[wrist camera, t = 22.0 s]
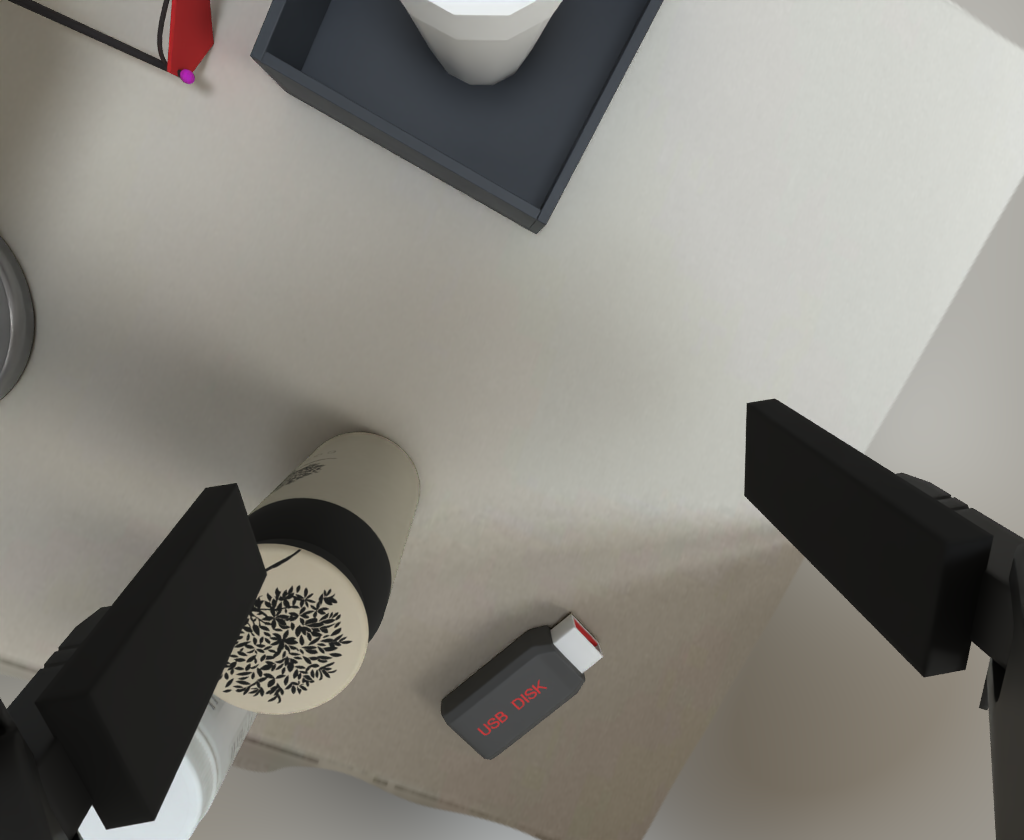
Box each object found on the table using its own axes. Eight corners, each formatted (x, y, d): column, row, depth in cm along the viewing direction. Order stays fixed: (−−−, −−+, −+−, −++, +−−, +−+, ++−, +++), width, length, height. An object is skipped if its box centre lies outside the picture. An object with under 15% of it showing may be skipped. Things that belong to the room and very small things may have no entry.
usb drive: (441, 700, 45) (438, 726, 42) (562, 602, 44) (567, 623, 41) (486, 743, 46) (487, 771, 43) (606, 649, 45) (614, 672, 42)
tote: (285, 91, 36) (249, 55, 30) (413, -209, 33) (399, -309, 27) (536, 234, 38) (545, 225, 32) (676, -33, 35) (711, -92, 30)
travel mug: (437, 517, 42) (404, 683, 24) (333, 556, 42) (224, 748, 24) (393, 413, 40) (322, 511, 22) (284, 455, 40) (130, 584, 23)
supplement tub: (136, 588, 42) (-44, 744, 27) (263, 547, 42) (148, 684, 27) (194, 701, 44) (55, 901, 30) (315, 663, 44) (234, 846, 29)
